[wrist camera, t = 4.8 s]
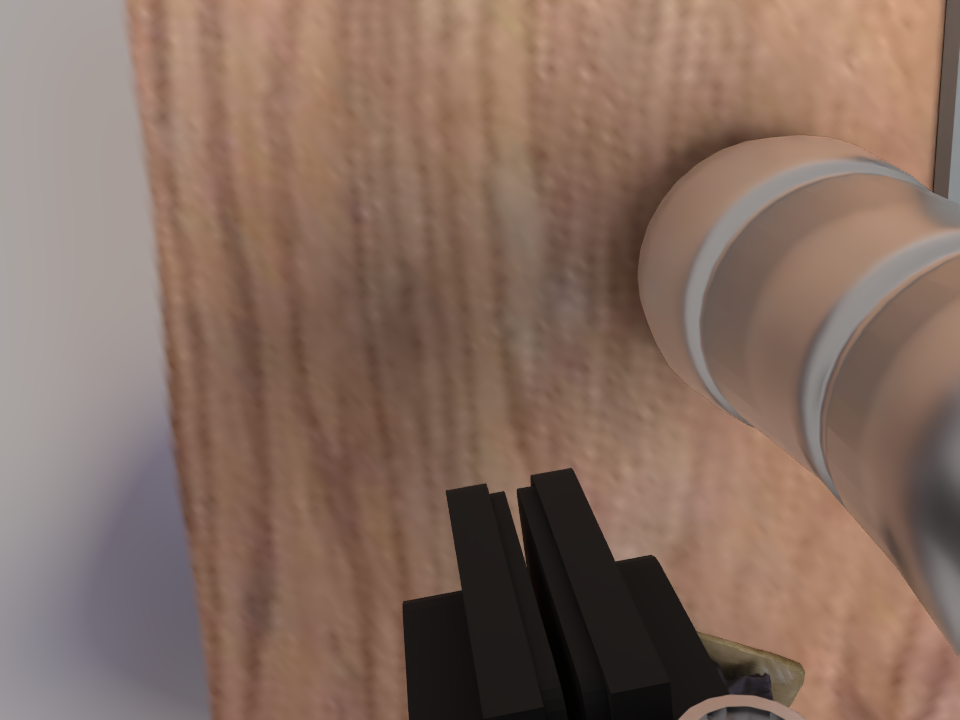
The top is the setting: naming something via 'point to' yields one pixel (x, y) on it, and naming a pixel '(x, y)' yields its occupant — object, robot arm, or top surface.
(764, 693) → the bread roll
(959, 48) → the tray
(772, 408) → the plastic bottle
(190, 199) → the top surface
